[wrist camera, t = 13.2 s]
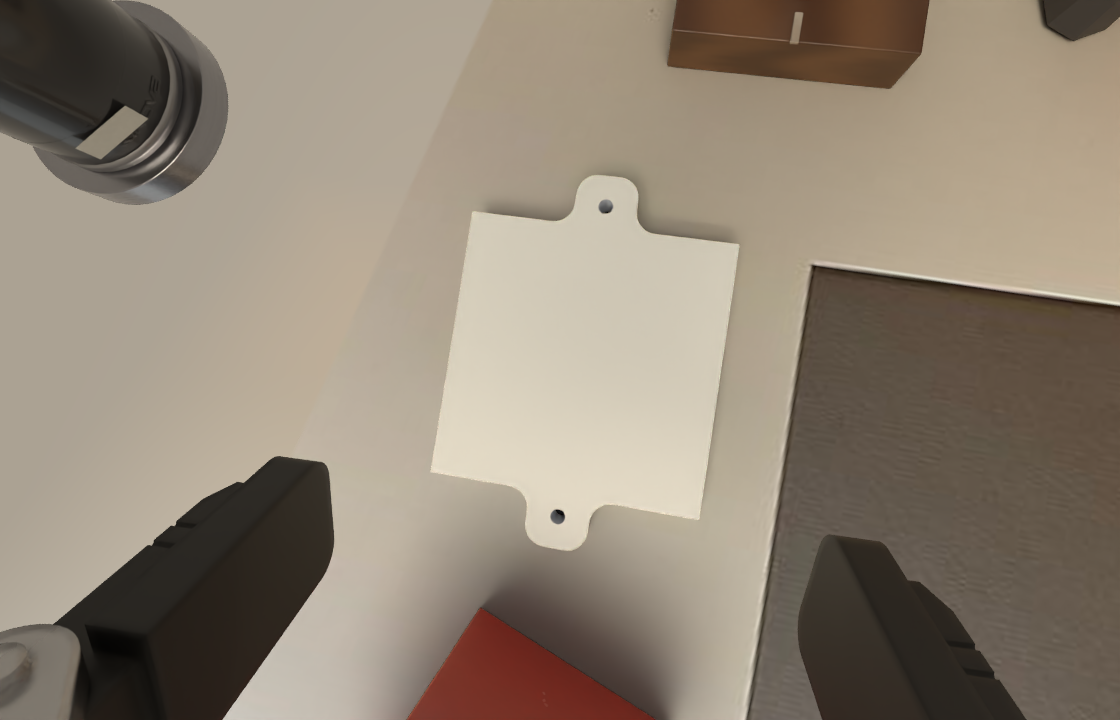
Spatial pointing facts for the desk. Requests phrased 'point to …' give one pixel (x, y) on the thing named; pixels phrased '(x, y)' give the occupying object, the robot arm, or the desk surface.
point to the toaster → (514, 682)
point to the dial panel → (801, 38)
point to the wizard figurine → (1081, 16)
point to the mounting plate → (586, 362)
